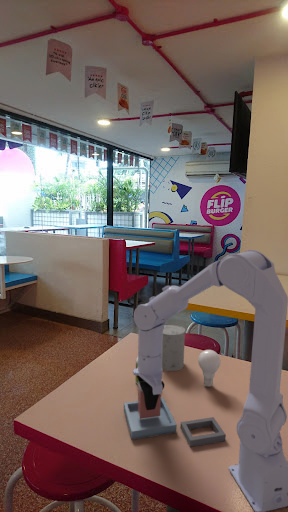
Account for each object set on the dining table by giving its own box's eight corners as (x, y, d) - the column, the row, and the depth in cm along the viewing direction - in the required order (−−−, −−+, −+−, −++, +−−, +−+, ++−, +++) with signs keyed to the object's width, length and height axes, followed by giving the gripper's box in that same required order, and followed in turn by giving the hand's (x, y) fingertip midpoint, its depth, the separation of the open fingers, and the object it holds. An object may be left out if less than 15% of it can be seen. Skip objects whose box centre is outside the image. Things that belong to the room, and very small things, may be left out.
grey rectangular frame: (225, 440, 67) (225, 434, 67) (189, 446, 65) (190, 440, 65) (213, 422, 73) (213, 417, 73) (180, 427, 71) (180, 422, 71)
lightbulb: (219, 393, 85) (221, 357, 84) (196, 390, 86) (198, 354, 85) (218, 381, 91) (220, 347, 90) (197, 378, 93) (199, 345, 91)
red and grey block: (160, 416, 73) (161, 385, 71) (140, 418, 71) (140, 387, 70) (157, 409, 75) (158, 379, 74) (137, 412, 74) (138, 381, 73)
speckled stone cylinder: (152, 368, 99) (153, 332, 97) (159, 355, 108) (160, 322, 106) (181, 373, 96) (182, 336, 94) (185, 359, 105) (187, 326, 103)
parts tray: (176, 432, 70) (176, 424, 69) (131, 439, 67) (131, 431, 67) (163, 404, 80) (163, 397, 80) (123, 409, 77) (123, 402, 77)
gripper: (128, 340, 77) (127, 389, 79) (140, 369, 63) (139, 427, 65) (154, 338, 79) (153, 386, 81) (172, 365, 65) (170, 423, 67)
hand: (149, 404), depth 73 cm, fingers closed on red and grey block, 2 cm apart
